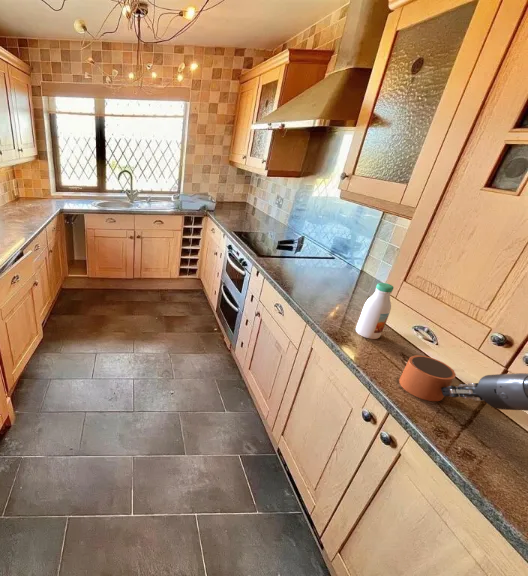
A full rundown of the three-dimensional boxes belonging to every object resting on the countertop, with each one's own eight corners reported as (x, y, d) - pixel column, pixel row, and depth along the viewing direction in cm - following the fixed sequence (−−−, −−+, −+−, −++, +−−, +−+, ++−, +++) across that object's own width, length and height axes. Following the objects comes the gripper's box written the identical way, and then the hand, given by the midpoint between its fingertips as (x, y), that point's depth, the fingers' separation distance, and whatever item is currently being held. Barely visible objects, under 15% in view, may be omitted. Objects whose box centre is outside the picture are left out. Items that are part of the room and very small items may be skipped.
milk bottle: (362, 339, 110) (381, 290, 102) (350, 327, 117) (367, 280, 108) (385, 339, 110) (405, 290, 101) (371, 327, 117) (389, 280, 108)
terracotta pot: (441, 385, 90) (453, 363, 87) (445, 407, 83) (458, 384, 79) (398, 371, 96) (408, 350, 92) (399, 391, 88) (409, 369, 85)
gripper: (541, 374, 67) (465, 377, 83) (479, 373, 67) (415, 377, 84) (556, 411, 65) (474, 407, 81) (491, 409, 65) (423, 406, 81)
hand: (444, 391), depth 82 cm, fingers closed
